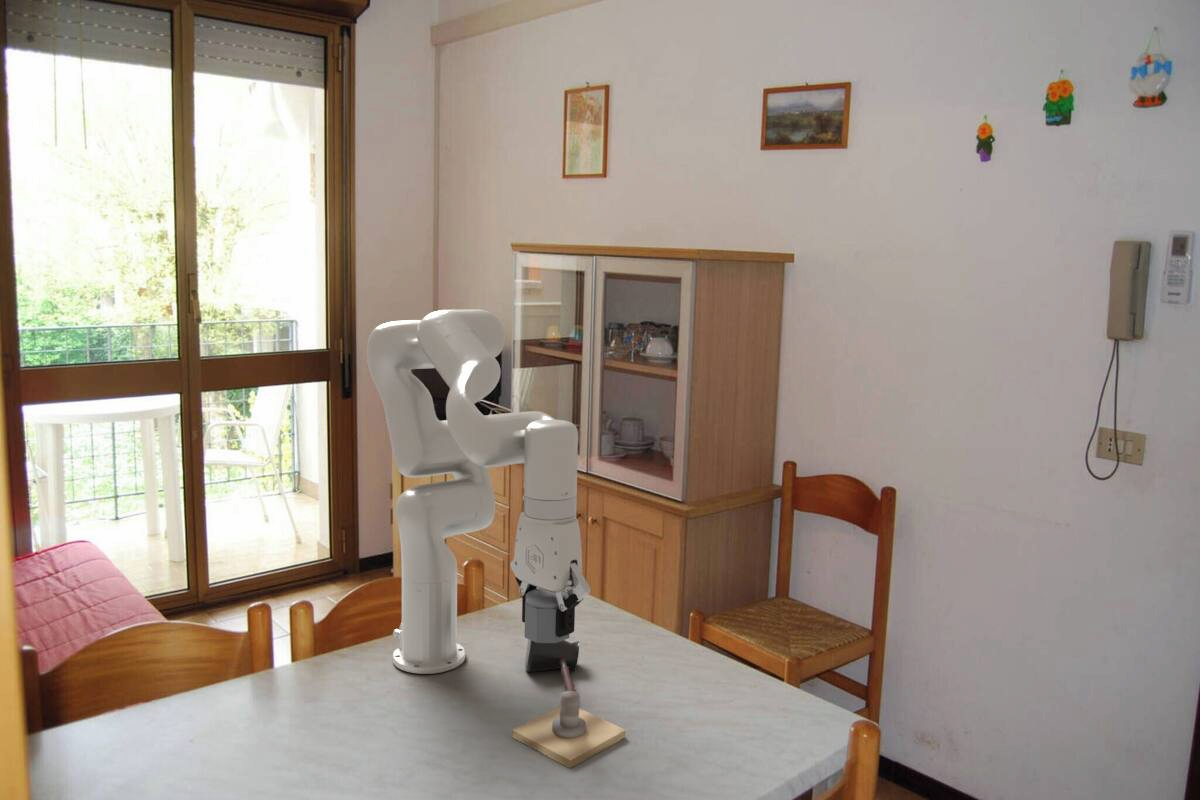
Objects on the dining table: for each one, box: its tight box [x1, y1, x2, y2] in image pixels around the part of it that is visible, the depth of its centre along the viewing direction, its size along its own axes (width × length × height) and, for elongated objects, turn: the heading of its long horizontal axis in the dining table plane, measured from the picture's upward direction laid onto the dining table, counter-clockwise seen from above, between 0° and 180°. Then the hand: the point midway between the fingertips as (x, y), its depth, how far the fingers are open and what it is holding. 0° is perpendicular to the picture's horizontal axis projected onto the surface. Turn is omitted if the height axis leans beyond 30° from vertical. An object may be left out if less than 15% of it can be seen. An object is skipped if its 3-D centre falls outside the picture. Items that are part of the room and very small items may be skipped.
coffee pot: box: [524, 639, 580, 692], centre depth 156 cm, size 8×18×8 cm
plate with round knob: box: [511, 690, 627, 769], centre depth 137 cm, size 12×12×7 cm
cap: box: [524, 588, 570, 643], centre depth 134 cm, size 6×6×6 cm
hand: (547, 626), depth 134 cm, fingers closed on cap, 6 cm apart
